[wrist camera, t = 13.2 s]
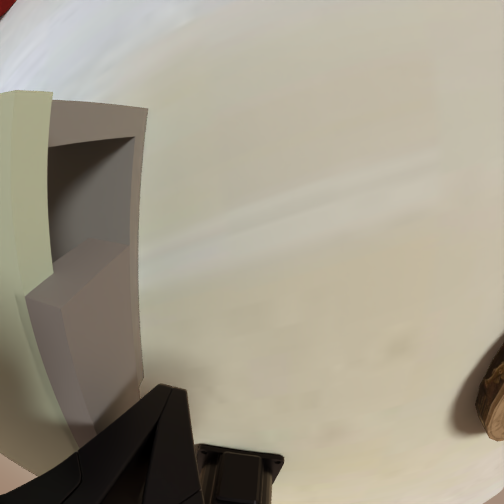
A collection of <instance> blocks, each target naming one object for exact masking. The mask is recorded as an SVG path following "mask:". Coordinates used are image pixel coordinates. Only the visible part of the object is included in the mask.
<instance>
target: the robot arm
mask: <svg viewBox="0 0 504 504" xmlns="http://www.w3.org/2000/svg"><path fill="white" fill-rule="evenodd" d="M283 464H284V457H283V456H280V455H270V454H260V453H251V452H244V451H236V450H230V449H223V448H218V447H212V446H206V445H200V446H199V447H198V454H197V459H196V453H195V447H194V440H193V433H192V426H191V419H190V412H189V404H188V395H187V391H186V389H182V388H178V387H172V386H169V385H165V384H158V385H157V386H156V387H155V388H154V389H152V390H151V391H150V392H149V393H148V394H146V395H145V396H144V397H143V398H142V399H140V400H139V401H138V402H137V403H136V404H134V405H133V406H132V407H131V408H130V409H128V410H127V411H126V412H125V413H123V414H122V415H121V416H120V417H119V418H117V419H116V420H115V421H114V422H112V423H111V424H110V425H109V426H107V427H106V428H105V429H104V430H102V431H101V432H100V433H99V434H97V435H96V436H95V437H94V438H92V439H91V440H90V441H89V442H87V443H86V444H85V445H84V446H82V447H81V448H80V449H78V452H74V453H73V454H72V455H71V456H69V457H68V458H67V459H65V460H64V461H62V462H61V463H60V464H58V465H57V466H55V467H54V468H52V469H51V470H49V471H47V472H46V473H44V474H42V475H41V476H39V477H37V478H35V479H33V480H31V481H29V482H28V483H26V484H24V485H22V486H20V487H18V488H16V489H14V490H12V491H10V492H8V493H6V494H3V495H0V504H271V497H272V484H273V483H274V481H275V479H276V477H277V475H278V474H279V472H280V470H281V468H282V466H283Z"/></svg>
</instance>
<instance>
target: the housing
mask: <svg viewBox="0 0 504 504" xmlns="http://www.w3.org/2000/svg"><path fill="white" fill-rule="evenodd" d="M147 114H148V109H147V108H140V107H132V106H124V105H115V104H105V103H94V102H81V101H65V100H52V104H51V113H50V124H49V138H48V159H47V200H48V222H49V236H50V247H51V256H52V263H54V262H55V261H57V260H58V259H59V258H61V257H62V256H63V255H65V254H66V253H68V252H69V251H71V250H72V249H73V248H75V247H76V246H78V245H79V244H81V243H82V242H84V241H85V240H87V239H88V238H93V239H99V240H104V241H110V242H115V243H121V244H126V245H129V253H130V294H131V314H132V328H133V341H134V352H135V361H136V370H137V379H138V387H139V386H140V384H141V382H142V380H143V378H144V373H143V362H142V350H141V336H140V318H139V292H138V230H139V204H140V186H141V172H142V160H143V149H144V139H145V130H146V121H147Z"/></svg>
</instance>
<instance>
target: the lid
mask: <svg viewBox="0 0 504 504" xmlns="http://www.w3.org/2000/svg"><path fill="white" fill-rule="evenodd" d="M52 96H53V92H44V91H22V90H15V91H10V92H5V93H0V453H1V454H3V455H4V456H5V457H7V458H8V459H10V460H11V461H13V462H15V463H16V464H18V465H19V466H21V467H23V468H24V469H26V470H28V471H29V472H31V473H33V474H35V475H36V476H38V477H39V476H41V475H42V474H44V473H46V472H47V471H49V470H51V469H52V468H54V467H55V466H57V465H58V464H60V463H61V462H62V461H64V460H65V459H67V458H68V457H69V456H71V455H72V454H73V453H74V452H78V449H80V448H81V447H82V446H84V445H85V444H86V443H87V442H89V441H90V440H91V439H92V438H94V437H95V436H96V435H97V434H99V433H100V432H101V431H102V430H104V429H105V428H106V427H107V426H109V425H110V424H111V423H112V422H114V421H115V420H116V419H117V418H119V417H120V416H121V415H122V414H123V413H125V412H126V411H127V410H128V409H130V408H131V407H132V406H133V405H134V404H136V403H137V402H138V401H139V400H140V394H139V387H138V379H137V370H136V361H135V352H134V341H133V328H132V314H131V294H130V253H129V245H126V244H121V243H115V242H110V241H104V240H99V239H93V238H88V239H87V240H85V241H84V242H82V243H81V244H79V245H78V246H76V247H75V248H73V249H72V250H71V251H69V252H68V253H66V254H65V255H63V256H62V257H61V258H59V259H58V260H57V261H55V262H54V263H52V256H51V247H50V236H49V222H48V200H47V159H48V138H49V124H50V113H51V104H52Z"/></svg>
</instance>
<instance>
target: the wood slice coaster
mask: <svg viewBox="0 0 504 504" xmlns="http://www.w3.org/2000/svg"><path fill="white" fill-rule="evenodd" d="M475 405H476V409H477V413H478V416H479V418H480V420H481V422H482V424H483V426H484V428H485V430H486V432H487V434H488V436H489V438H490V439H493V440H495V441H503V440H504V344H503V345H502V347H501V348H500V350H499V351H498V353H497V354H496V356H495V357H494V359H493V360H492V362H491V364H490V366H489V369H488V371H487V373H486V375H485V377H484V379H483V380H482V382H481V384H480V387H479V391H478V396H477V400H476V403H475Z"/></svg>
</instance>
